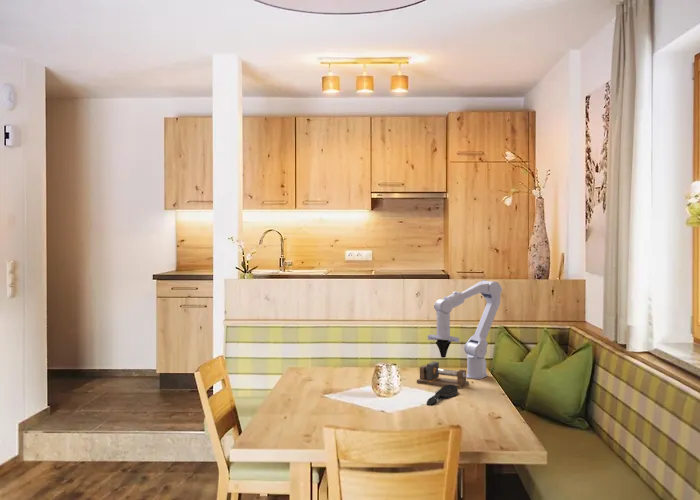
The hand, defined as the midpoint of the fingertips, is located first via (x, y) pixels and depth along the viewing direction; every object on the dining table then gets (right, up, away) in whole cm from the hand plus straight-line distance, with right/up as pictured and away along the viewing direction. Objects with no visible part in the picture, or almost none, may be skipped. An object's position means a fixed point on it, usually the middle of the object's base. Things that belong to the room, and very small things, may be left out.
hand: (443, 357), depth 297 cm
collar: (-5, -9, -2) cm, 10 cm away
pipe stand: (-1, -11, -5) cm, 12 cm away
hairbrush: (-5, -12, -29) cm, 32 cm away
